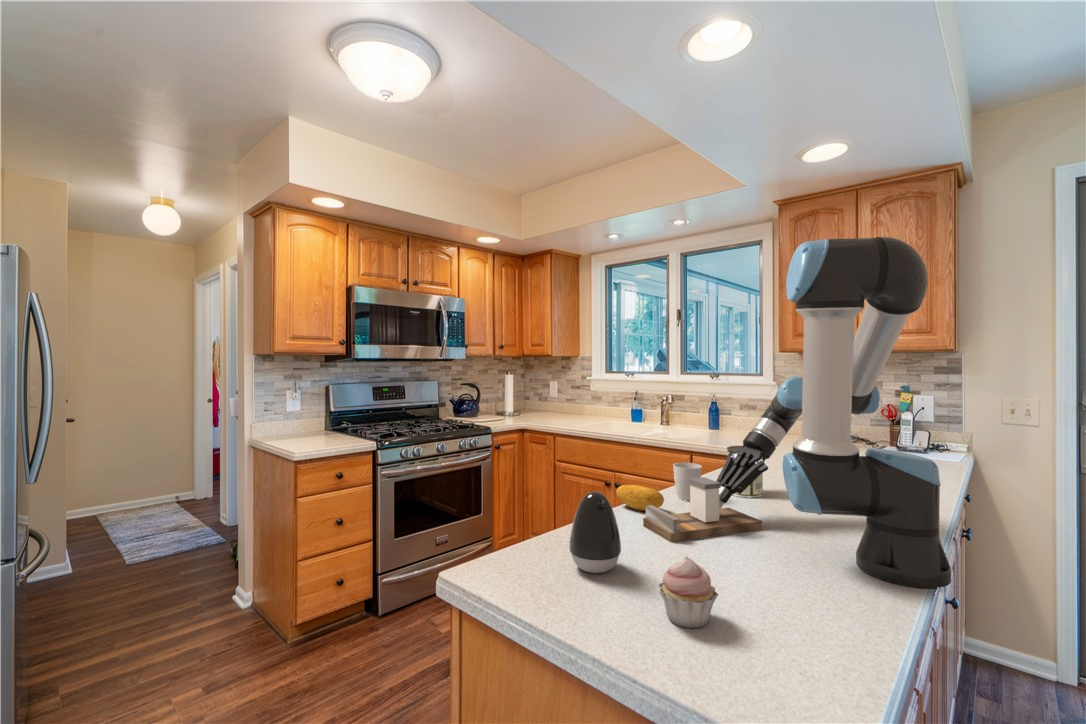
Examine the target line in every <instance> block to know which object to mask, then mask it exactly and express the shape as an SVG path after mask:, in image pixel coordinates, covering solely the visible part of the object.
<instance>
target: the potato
mask: <svg viewBox="0 0 1086 724" xmlns="http://www.w3.org/2000/svg"><path fill="white" fill-rule="evenodd" d="M615 492H616V496H617V497H618V499H619V501H620V502H621V503H623V504H624V505H626V506H628V507H630V508H631V509H633V510H634V511H635V510H636V511H640V512H641V511H642V512H646V506H647V505H652V506H654V507H656V508H658V509H660V508H661V507H662V506H663V504H664V502H665V498H664V495H663V494H662V493H661V492H660V491H658V490H656V489H654V488H651V487H648V486H647V487H646V486H642V485H640V484H639V485H638V484H637V485H636V484H623V485H620V486H618V487H617V489H616V491H615Z"/></svg>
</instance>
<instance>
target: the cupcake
mask: <svg viewBox="0 0 1086 724" xmlns="http://www.w3.org/2000/svg"><path fill="white" fill-rule="evenodd" d="M657 586H658V588H659V589H658V592H659V594H660V596H661V598H662V600H663V604H664V608H665V609H664V610H665V612H666V613H665V614H666V616H667V618H668V619H669V621H670V622H671V623H672V624H674V625H676V626H679V627H682V628H687V629H699V628H704V626H707V623H709V619H710V616H711V612H712V608H713V606H714V603H715V601H716V599H717V598H718V596H719V593H718V592H716V589H717V587H715V586H713V585H712V580H711V577H710V575H709V573H708V572H707V571H706V570H705V569H704V568H703V567H702V566H701V565H699V564H697V563H696V561H694V560H693V559H691V557H688V556H687V555H684V557H683V560H682V561H680V562H679V561H678V562H677V563H673V564H671V565H670V566H669V567H668V570H666V571H665V572H664V573H663V575H662V582H659V583H657Z"/></svg>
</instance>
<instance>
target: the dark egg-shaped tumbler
mask: <svg viewBox="0 0 1086 724" xmlns="http://www.w3.org/2000/svg"><path fill="white" fill-rule="evenodd" d="M620 537H621V536H620V531H619V527H618V522H617V518H616V515H615V511H614V509H613V507H612V505H611V503H610V500H609V499H608V497H606V495H605V494H604V493H602V492H599V491H590V492H588V493H586V494H585V495H584V496H583V497H582V498H581V500H580V501H579V504H578V506H577V509H576V512H575V514H574V518H573V522H572V527H571V531H570V537H569V552H570V554H571V558H572V560H573V562H574V564H575V565H576V566H577V567H578V568H579V569H580V570H582V571H584V572H587V573H590V574H602V573H606V572H608V571H610V570H612V569H613V567H615V566H616V564H617V562H618V561H619V557H620V555H621V552H622V545H621V544H622V543H621V538H620Z"/></svg>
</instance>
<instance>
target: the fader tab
mask: <svg viewBox="0 0 1086 724" xmlns="http://www.w3.org/2000/svg"><path fill="white" fill-rule="evenodd" d="M689 484H690V501H689V502H690V507H689V508H690V509H689V510H690V511H689V512H690V515H691V516H693V517H695V518H697V519H699V520H701V521H703V522H705V523H706V522H713V521H719V488H721V483H719V482H716V480H714V479H710V478H707V477H702V476H701V478H691V479H689Z"/></svg>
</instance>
